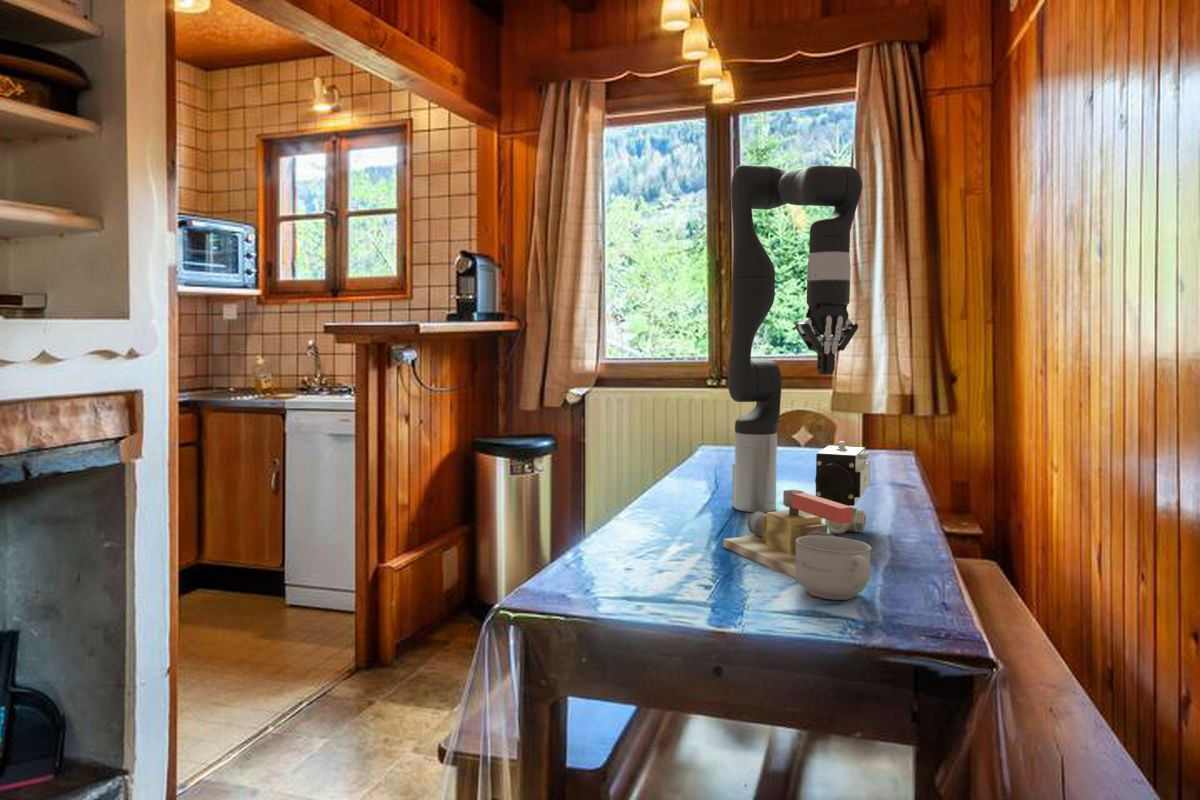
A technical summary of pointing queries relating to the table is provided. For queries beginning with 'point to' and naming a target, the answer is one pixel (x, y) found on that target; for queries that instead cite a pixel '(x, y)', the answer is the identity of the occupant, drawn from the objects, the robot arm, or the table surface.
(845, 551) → the teacup
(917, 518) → the table surface
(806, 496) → the lever
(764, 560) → the valve fixture
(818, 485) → the ball valve
